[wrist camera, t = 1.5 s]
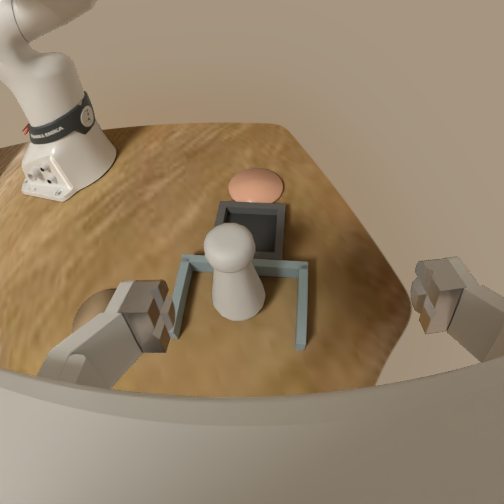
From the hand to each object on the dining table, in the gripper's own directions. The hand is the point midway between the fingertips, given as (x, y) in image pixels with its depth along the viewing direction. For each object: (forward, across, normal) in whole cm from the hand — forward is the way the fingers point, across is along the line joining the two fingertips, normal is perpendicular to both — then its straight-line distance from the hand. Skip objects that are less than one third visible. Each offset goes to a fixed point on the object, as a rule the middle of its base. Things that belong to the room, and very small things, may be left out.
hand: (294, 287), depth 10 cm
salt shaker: (+19, +6, +19) cm, 27 cm away
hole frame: (+28, +4, +15) cm, 32 cm away
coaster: (+36, +4, +11) cm, 38 cm away
